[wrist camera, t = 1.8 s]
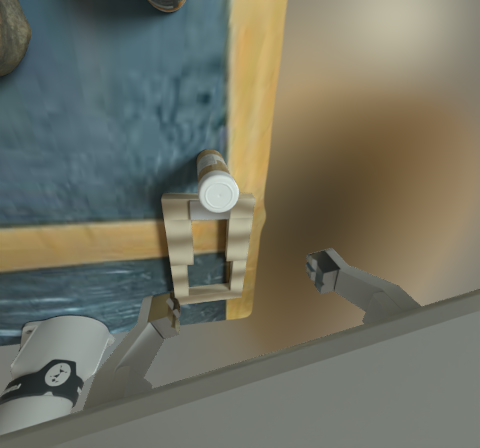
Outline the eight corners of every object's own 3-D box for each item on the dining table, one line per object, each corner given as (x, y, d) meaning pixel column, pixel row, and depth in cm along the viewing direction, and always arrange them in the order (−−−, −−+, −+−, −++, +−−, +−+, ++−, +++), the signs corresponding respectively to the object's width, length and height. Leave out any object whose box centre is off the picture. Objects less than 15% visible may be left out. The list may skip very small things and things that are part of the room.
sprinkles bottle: (227, 169, 33) (245, 204, 22) (203, 179, 33) (209, 220, 22) (216, 143, 30) (230, 168, 19) (190, 154, 31) (190, 186, 20)
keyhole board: (239, 289, 51) (241, 299, 49) (177, 296, 48) (176, 307, 45) (251, 192, 37) (256, 199, 34) (163, 192, 33) (160, 200, 30)
